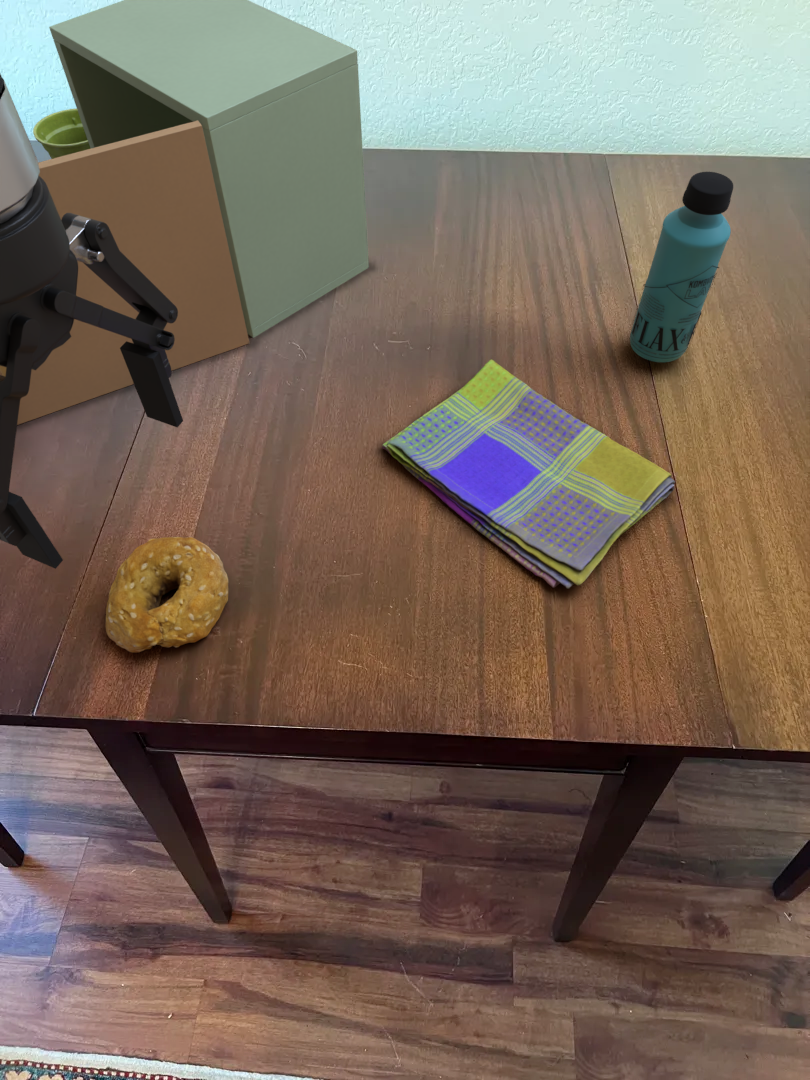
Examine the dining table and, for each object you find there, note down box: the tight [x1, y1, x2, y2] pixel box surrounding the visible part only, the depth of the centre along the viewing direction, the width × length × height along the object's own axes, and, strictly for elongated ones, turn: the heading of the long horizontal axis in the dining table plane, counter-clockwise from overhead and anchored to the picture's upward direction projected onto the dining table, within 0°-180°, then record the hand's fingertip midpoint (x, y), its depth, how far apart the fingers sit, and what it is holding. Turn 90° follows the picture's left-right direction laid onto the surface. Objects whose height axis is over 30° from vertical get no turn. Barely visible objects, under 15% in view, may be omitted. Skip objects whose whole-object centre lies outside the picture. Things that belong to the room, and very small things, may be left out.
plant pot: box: [32, 107, 91, 159], centre depth 102 cm, size 9×9×9 cm
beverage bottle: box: [628, 171, 734, 363], centre depth 78 cm, size 6×7×20 cm
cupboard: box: [48, 0, 370, 339], centre depth 87 cm, size 18×26×24 cm
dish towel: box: [381, 359, 676, 589], centre depth 75 cm, size 18×24×3 cm
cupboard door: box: [0, 121, 250, 426], centre depth 72 cm, size 8×26×24 cm, turn 119°
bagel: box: [105, 536, 229, 653], centre depth 66 cm, size 10×11×5 cm
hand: (108, 483), depth 54 cm, fingers open, 13 cm apart
